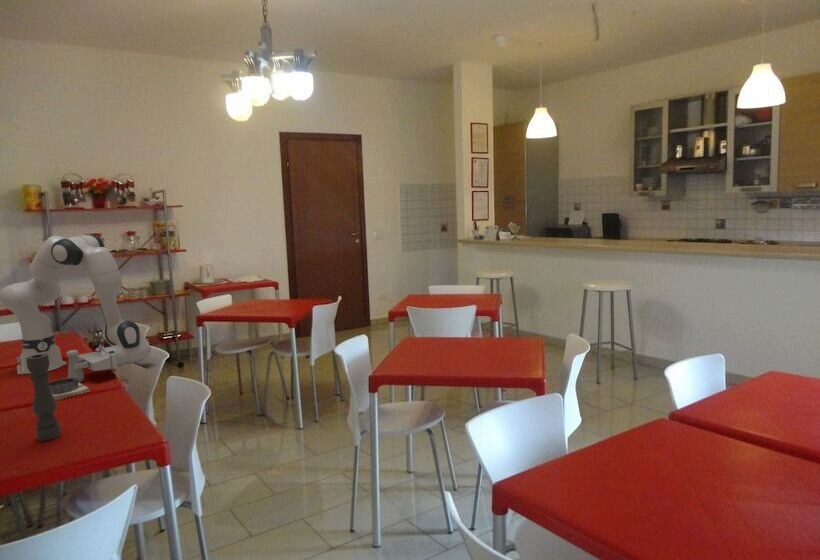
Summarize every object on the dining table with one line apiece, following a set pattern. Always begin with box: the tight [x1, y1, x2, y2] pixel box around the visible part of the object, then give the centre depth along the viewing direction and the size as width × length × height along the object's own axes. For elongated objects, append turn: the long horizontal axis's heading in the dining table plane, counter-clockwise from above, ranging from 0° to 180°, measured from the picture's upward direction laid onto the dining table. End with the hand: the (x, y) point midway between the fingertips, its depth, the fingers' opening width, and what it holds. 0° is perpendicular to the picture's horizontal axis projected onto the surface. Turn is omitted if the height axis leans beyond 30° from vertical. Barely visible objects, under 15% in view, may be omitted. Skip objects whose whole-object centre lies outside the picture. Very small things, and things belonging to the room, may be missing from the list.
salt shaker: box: [65, 349, 85, 383], centre depth 236 cm, size 6×6×13 cm
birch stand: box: [52, 382, 91, 402], centre depth 223 cm, size 14×14×2 cm
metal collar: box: [49, 377, 79, 394], centre depth 222 cm, size 10×10×3 cm
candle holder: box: [26, 354, 62, 442], centre depth 178 cm, size 6×6×25 cm
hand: (71, 365), depth 235 cm, fingers closed on salt shaker, 3 cm apart
